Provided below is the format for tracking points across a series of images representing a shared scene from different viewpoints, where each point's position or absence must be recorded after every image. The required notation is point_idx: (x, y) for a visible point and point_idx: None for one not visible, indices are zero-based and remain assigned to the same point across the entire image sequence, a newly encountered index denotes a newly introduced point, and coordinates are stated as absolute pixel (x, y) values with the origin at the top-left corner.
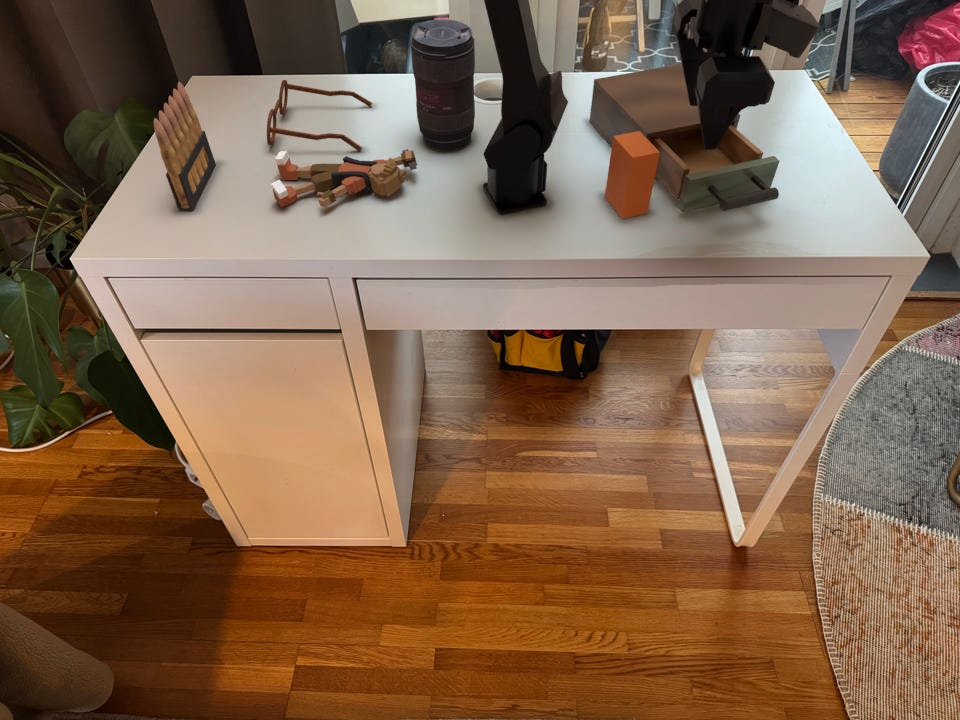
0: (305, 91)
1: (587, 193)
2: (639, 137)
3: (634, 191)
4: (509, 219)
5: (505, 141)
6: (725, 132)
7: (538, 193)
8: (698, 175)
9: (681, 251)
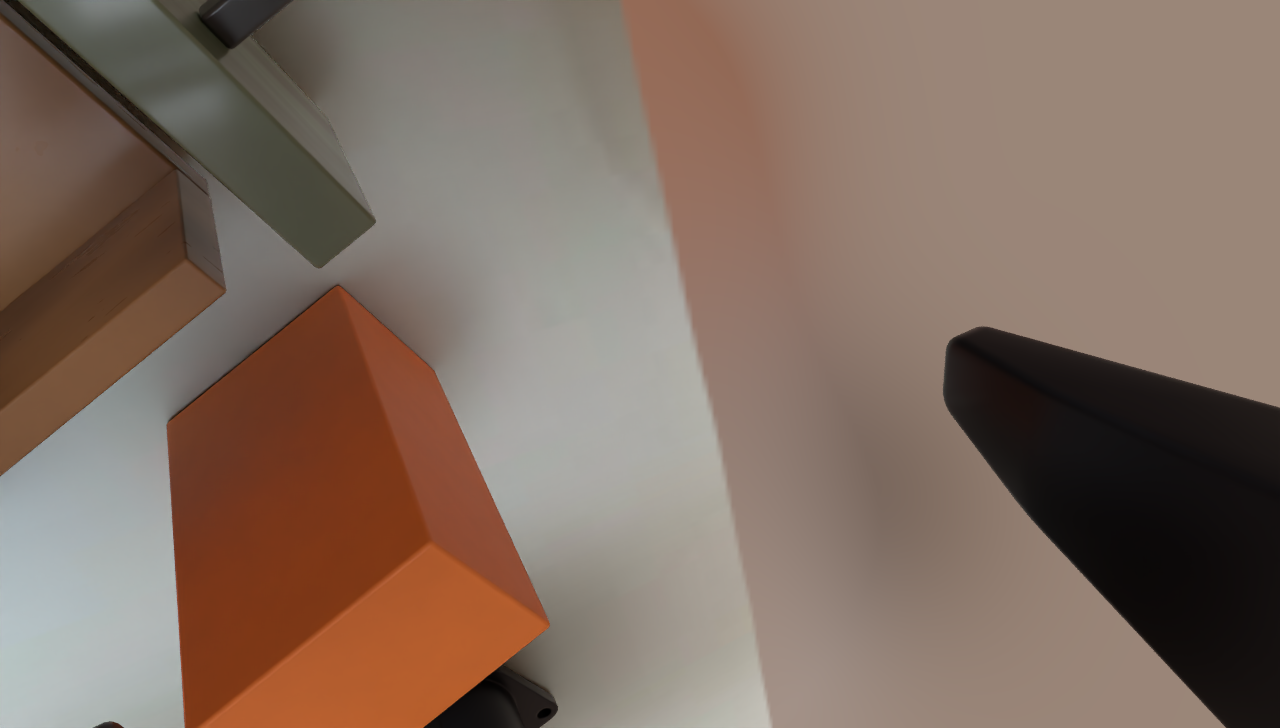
0: None
1: None
2: (284, 702)
3: (449, 440)
4: (565, 666)
5: None
6: (1221, 392)
7: None
8: (288, 183)
9: (609, 51)
